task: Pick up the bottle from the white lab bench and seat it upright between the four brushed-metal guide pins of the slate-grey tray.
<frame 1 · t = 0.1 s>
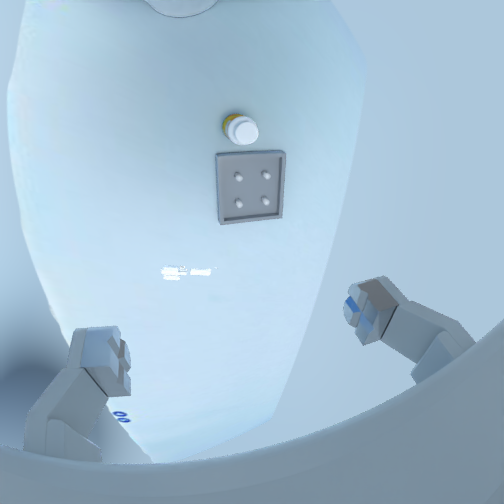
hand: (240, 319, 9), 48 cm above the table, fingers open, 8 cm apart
syringe: (201, 270, 67), on the table
supplement bottle: (234, 126, 50), on the table
pin tray: (249, 185, 57), on the table
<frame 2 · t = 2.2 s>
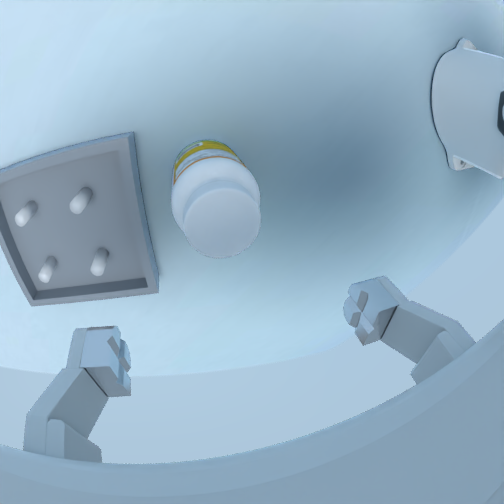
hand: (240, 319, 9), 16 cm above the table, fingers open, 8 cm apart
supplement bottle: (205, 169, 21), on the table
pin tray: (69, 224, 20), on the table
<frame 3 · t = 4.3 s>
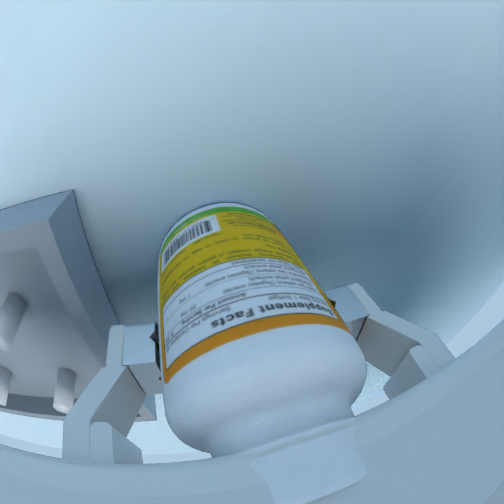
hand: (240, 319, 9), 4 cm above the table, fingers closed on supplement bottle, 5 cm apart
supplement bottle: (220, 255, 12), on the table, touching gripper
pin tray: (13, 330, 10), on the table
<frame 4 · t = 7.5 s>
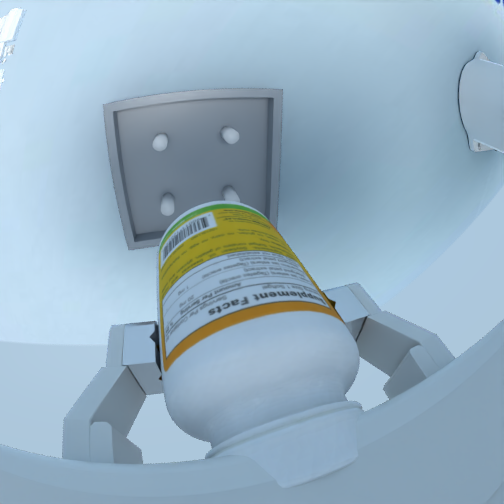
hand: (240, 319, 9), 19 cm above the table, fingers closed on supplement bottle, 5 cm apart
supplement bottle: (217, 251, 12), point 15 cm above the table, touching gripper
pin tray: (195, 163, 24), on the table
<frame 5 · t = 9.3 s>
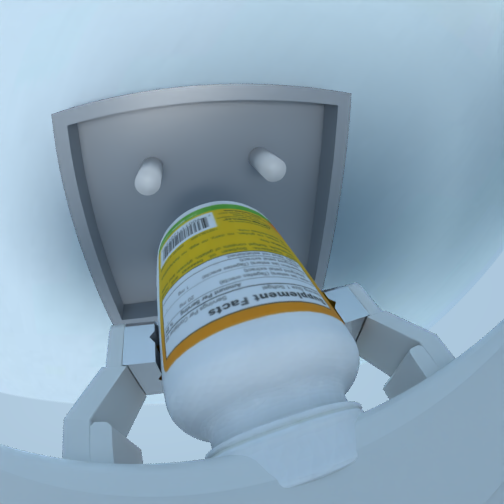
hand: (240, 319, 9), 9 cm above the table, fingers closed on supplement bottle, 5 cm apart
supplement bottle: (217, 252, 12), point 5 cm above the table, touching gripper
pin tray: (207, 203, 16), on the table
when the fingers open (6 cm above the table, at t = 10.9 s): supplement bottle stays where it is, resting on pin tray.
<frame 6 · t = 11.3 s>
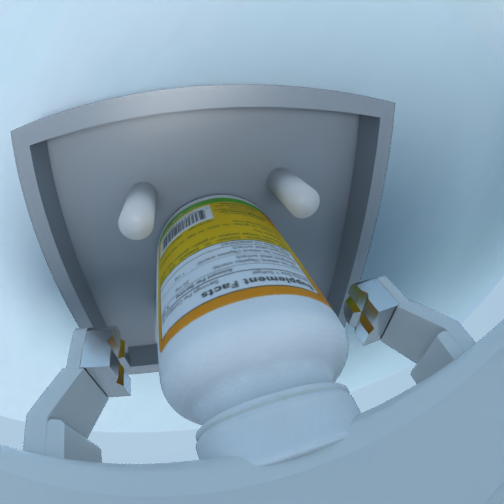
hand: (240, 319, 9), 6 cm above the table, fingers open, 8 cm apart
supplement bottle: (215, 244, 13), point 1 cm above the table, touching pin tray
pin tray: (213, 235, 13), on the table
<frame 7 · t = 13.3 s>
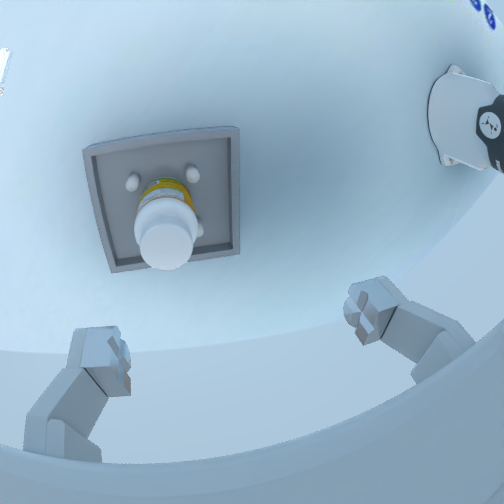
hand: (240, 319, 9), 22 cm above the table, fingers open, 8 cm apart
supplement bottle: (165, 199, 27), point 1 cm above the table, touching pin tray
pin tray: (165, 196, 28), on the table
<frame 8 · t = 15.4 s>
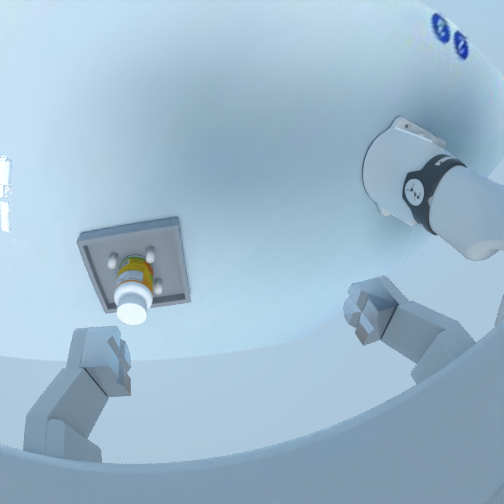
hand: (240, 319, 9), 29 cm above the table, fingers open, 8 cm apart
syringe: (7, 216, 28), on the table
supplement bottle: (136, 268, 39), point 1 cm above the table, touching pin tray
pin tray: (137, 264, 39), on the table
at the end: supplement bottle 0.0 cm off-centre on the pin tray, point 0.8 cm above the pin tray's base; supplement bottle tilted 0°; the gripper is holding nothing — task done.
